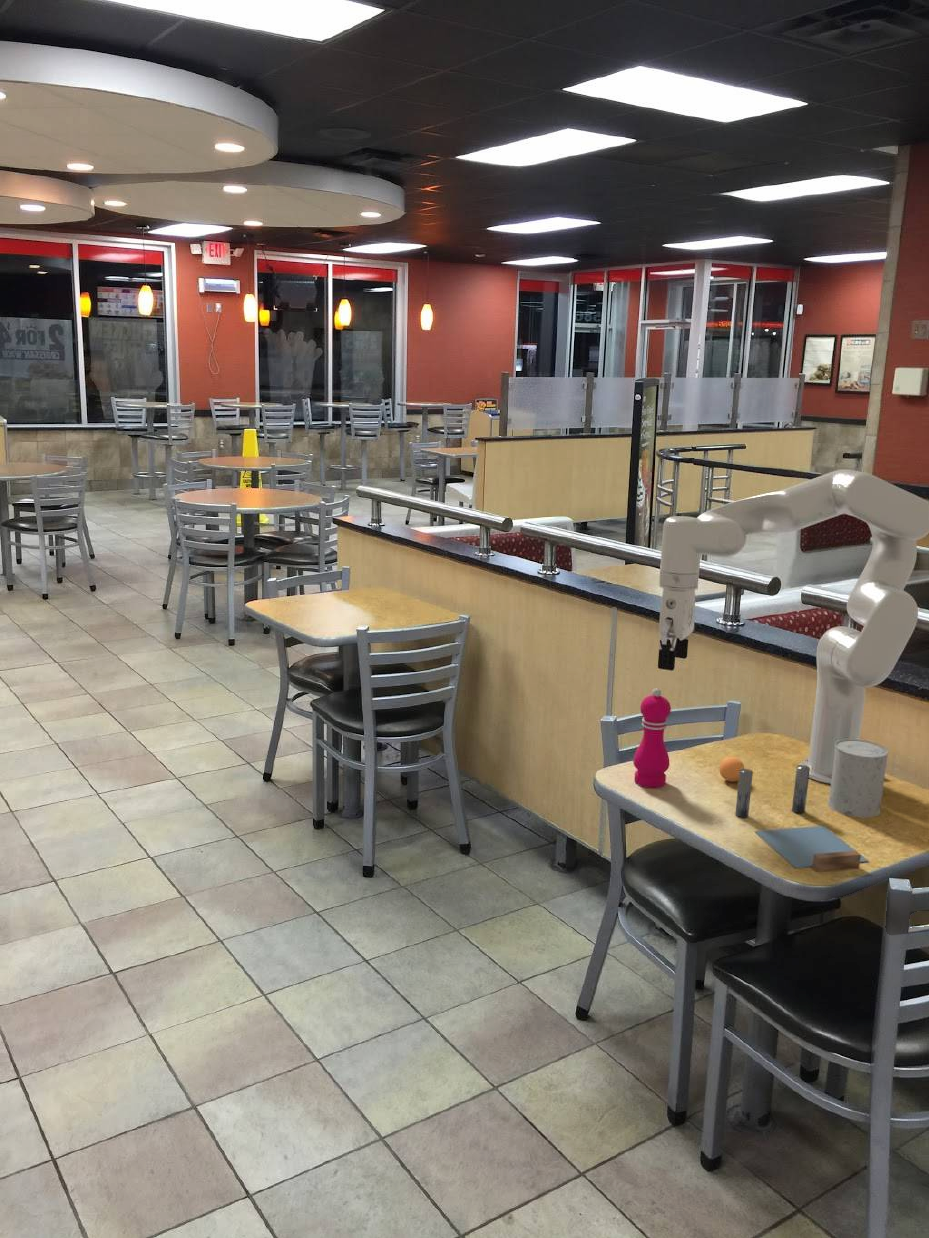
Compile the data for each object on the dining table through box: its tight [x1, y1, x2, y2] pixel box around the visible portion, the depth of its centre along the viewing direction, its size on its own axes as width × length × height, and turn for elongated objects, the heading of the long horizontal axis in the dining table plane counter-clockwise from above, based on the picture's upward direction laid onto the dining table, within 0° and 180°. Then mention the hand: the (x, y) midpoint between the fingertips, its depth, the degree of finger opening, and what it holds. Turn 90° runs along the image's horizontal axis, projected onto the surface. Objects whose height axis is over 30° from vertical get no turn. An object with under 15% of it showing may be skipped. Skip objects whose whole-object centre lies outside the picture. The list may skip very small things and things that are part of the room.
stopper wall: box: [811, 850, 862, 873], centre depth 173 cm, size 8×2×2 cm, turn 103°
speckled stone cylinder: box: [827, 739, 889, 819], centre depth 196 cm, size 10×10×12 cm
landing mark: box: [754, 825, 869, 869], centre depth 181 cm, size 14×14×1 cm
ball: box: [718, 756, 745, 783], centre depth 208 cm, size 5×5×5 cm
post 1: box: [734, 768, 754, 819], centre depth 191 cm, size 2×2×9 cm
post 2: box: [791, 764, 810, 815], centre depth 194 cm, size 2×2×9 cm
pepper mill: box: [633, 687, 672, 789], centre depth 205 cm, size 7×7×20 cm
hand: (672, 663), depth 204 cm, fingers open, 9 cm apart
